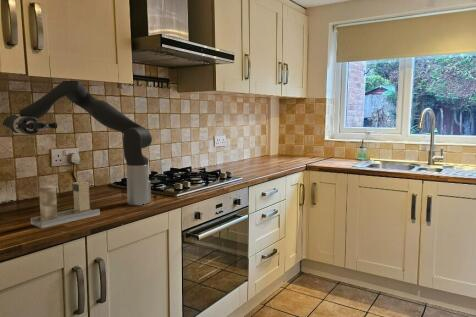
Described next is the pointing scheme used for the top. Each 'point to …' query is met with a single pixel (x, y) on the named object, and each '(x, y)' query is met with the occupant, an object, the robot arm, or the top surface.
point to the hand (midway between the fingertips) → (45, 126)
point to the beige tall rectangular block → (48, 202)
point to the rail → (77, 213)
